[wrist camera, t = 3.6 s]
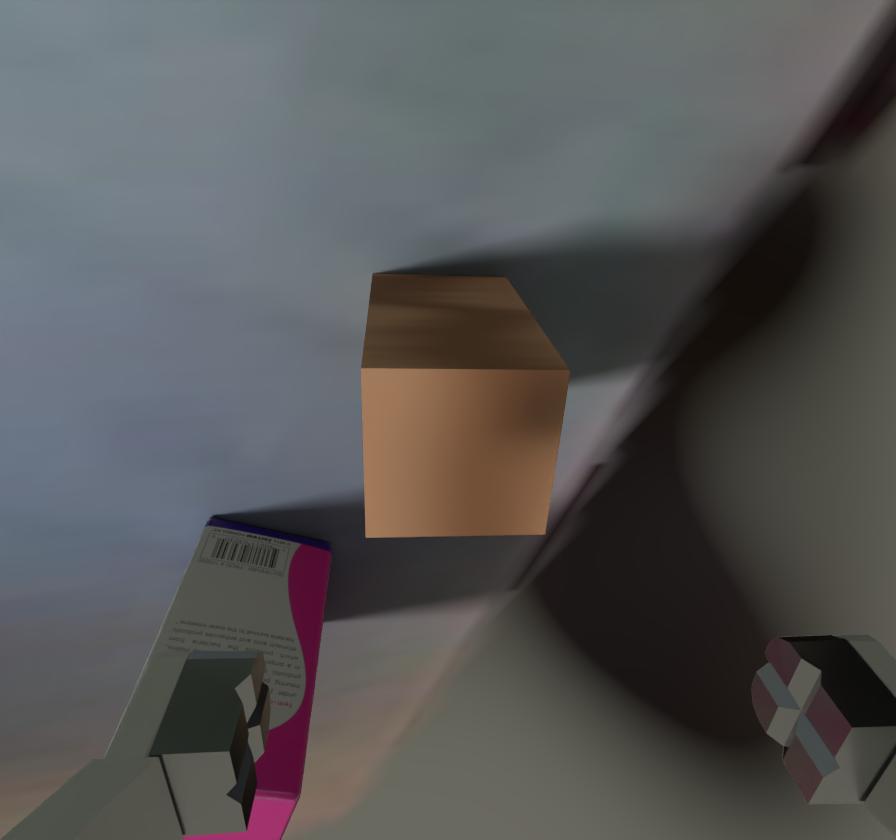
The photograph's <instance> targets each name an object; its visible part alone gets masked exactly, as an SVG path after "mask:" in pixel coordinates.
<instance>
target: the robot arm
mask: <svg viewBox="0 0 896 840" xmlns="http://www.w3.org/2000/svg"><path fill="white" fill-rule="evenodd" d="M765 655H766V657H767V658H768V660H769V663H768V664H766V665H765V666H764V667H762V668H761V669H760V670H759V671H757V672H756V675H755V678H754V681H753V684H752V686H751V687H752V700H753V705H754V708H755V711H756V714H757V717H758V719H759V721H760V722H761V724H762V726H763V728H764V730H765V731H766V733H767V734H768V735H770V736H771V737H772V738H774V739H775V740H776V741H778V742H779V743H780V744H781V745H783V746H784V748H783V762H784V764H785V766H786V767H787V769H788V771H789V772H790V774H791V776H792V778H793V779H794V781H795V782H796V784H797V786H798V788H799V789H800V791H801V793H802V794H803V796H804V798H805V800H806V801H807V803H808V804H846V803H864V804H863V805H862V807H863V808H864V809H865V810H867V811H868V812H869V813H870V814H871V815H872V816H873V817H874V818H876V819H877V820H878V821H879V822H880V823H881V824H882V825H883V826H884V827H886V828H887V829H888V830H889V831H890V832H891V833H892V834H893V835H895V836H896V660H895V659H894V657H893V656H892V655H891V654H890V653H889V652H888V651H887V650H886V649H885V648H884V646H883V645H882V644H881V643H880V642H879V641H877V640H876V639H874V638H872V637H871V636H869V635H836V636H833V635H815V636H791V637H776V638H775V639H774V640H772V641H770V642H769V644H768V647H767V649H766V651H765ZM265 668H266V665H265V660H264V655H263V652H262V651H159V652H158V653H157V654H156V655H155V656H154V657H153V658H152V659H151V661H150V662H149V664H148V666H147V668H146V670H145V672H144V675H143V677H142V679H141V681H140V683H139V685H138V687H137V690H136V692H135V694H134V696H133V698H132V700H131V702H130V705H129V707H128V709H127V711H126V713H125V715H124V717H123V719H122V722H121V724H120V726H119V728H118V730H117V732H116V734H115V737H114V739H113V741H112V743H111V745H110V747H109V749H108V752H107V754H106V756H105V758H103V759H93V760H91V761H90V762H89V763H88V764H87V765H86V766H85V767H83V768H82V769H81V770H80V771H79V772H78V773H76V774H75V775H74V776H73V777H72V778H71V779H70V780H68V781H67V782H66V783H65V784H64V785H63V786H61V787H60V788H59V789H58V790H57V791H56V792H55V793H53V794H52V795H51V796H50V797H49V798H48V799H46V800H45V801H44V802H43V803H42V804H41V805H40V806H38V807H37V808H36V809H35V810H34V811H33V812H32V813H30V814H29V815H28V816H27V817H26V818H25V819H23V820H22V821H21V822H20V823H19V824H18V825H17V826H15V827H14V828H13V829H12V830H11V831H10V832H8V833H7V834H6V835H5V836H4V837H3V838H2V839H0V840H184V838H183V837H184V836H197V835H210V834H222V833H235V832H247V828H248V824H249V819H250V815H251V810H252V806H253V801H254V797H255V793H256V788H257V784H258V782H257V776H256V770H255V764H254V763H255V762H256V761H257V760H258V759H259V758H260V757H261V755H262V754H263V753H264V752H265V747H266V742H267V737H268V731H269V722H270V712H271V711H270V692H269V686H268V685H266V684H265V683H264V682H263V681H262V680H263V676H264V672H265Z"/></svg>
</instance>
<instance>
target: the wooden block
mask: <svg viewBox="0 0 896 840" xmlns="http://www.w3.org/2000/svg"><path fill="white" fill-rule="evenodd" d="M570 371H571V370H570V369H569V367H568V366H567V364H566V363H565V361H564V360H563V358H562V357H561V356H560V354H559V353H558V351H557V350H556V348H555V347H554V345H553V344H552V343H551V341H550V340H549V338H548V337H547V335H546V334H545V332H544V331H543V330H542V328H541V327H540V325H539V324H538V322H537V321H536V319H535V318H534V317H533V315H532V314H531V312H530V311H529V309H528V308H527V306H526V305H525V304H524V302H523V301H522V299H521V298H520V296H519V295H518V293H517V292H516V291H515V289H514V288H513V286H512V285H511V283H510V282H509V280H508V279H507V277H488V276H448V275H407V274H373V275H372V284H371V292H370V300H369V308H368V316H367V325H366V333H365V341H364V349H363V357H362V365H361V381H362V419H363V457H364V495H365V533H366V538H385V537H439V536H492V535H545V532H546V525H547V519H548V512H549V506H550V499H551V493H552V487H553V480H554V474H555V467H556V461H557V454H558V448H559V441H560V435H561V429H562V422H563V416H564V409H565V403H566V396H567V390H568V384H569V377H570Z"/></svg>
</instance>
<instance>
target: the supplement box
mask: <svg viewBox="0 0 896 840" xmlns="http://www.w3.org/2000/svg"><path fill="white" fill-rule="evenodd" d="M331 558H332V544H330V543H327V542H323V541H319V540H314V539H309V538H304V537H300V536H295V535H291V534H287V533H281V532H277V531H272V530H267V529H263V528H258V527H253V526H248V525H244V524H239V523H235V522H230V521H226V520H221V519H217V518H212V517H210V518H209V520H208V522H207V523H206V525H205V528H204V530H203V532H202V534H201V536H200V538H199V541H198V543H197V545H196V548H195V550H194V552H193V554H192V557H191V559H190V561H189V563H188V566H187V568H186V570H185V572H184V575H183V577H182V579H181V582H180V584H179V586H178V589H177V591H176V593H175V596H174V598H173V600H172V603H171V605H170V607H169V609H168V612H167V614H166V616H165V619H164V621H163V623H162V626H161V628H160V630H159V633H158V635H157V637H156V640H155V642H154V644H153V647H152V649H151V651H150V653H149V656H148V658H147V660H146V663H145V665H144V667H143V669H142V672H141V674H140V676H139V679H138V681H137V683H136V686H135V688H134V690H133V693H132V695H131V697H130V700H129V702H128V704H127V706H126V709H125V711H124V713H123V715H122V718H121V720H120V722H119V725H118V727H117V729H116V732H117V730H118V728H119V726H120V724H121V722H122V719H123V717H124V715H125V713H126V711H127V709H128V707H129V705H130V702H131V700H132V698H133V696H134V694H135V692H136V690H137V687H138V685H139V683H140V681H141V679H142V677H143V675H144V672H145V670H146V668H147V666H148V664H149V662H150V661H151V659H152V658H153V657H154V656H155V655H156V654H157V653H158V652H159V651H262V652H263V655H264V660H265V665H266V668H265V672H264V676H263V680H262V681H263V682H264V683H265V684H266V685H268V686H269V692H270V711H271V712H270V722H269V731H268V737H267V742H266V747H265V752H264V753H263V754H262V755H261V757H260V758H259V759H258V760H257V761H256V762H255V763H254V764H255V770H256V776H257V782H258V784H257V788H256V793H255V797H254V801H253V806H252V810H251V815H250V819H249V824H248V828H247V832H235V833H222V834H210V835H197V836H184V837H183V838H184V840H281V838H282V836H283V834H284V832H285V829H286V827H287V825H288V823H289V820H290V818H291V816H292V813H293V811H294V809H295V807H296V804H297V802H298V800H299V798H300V794H301V788H302V780H303V773H304V765H305V757H306V749H307V740H308V732H309V724H310V717H311V710H312V703H313V696H314V689H315V680H316V672H317V665H318V657H319V648H320V641H321V633H322V626H323V619H324V611H325V603H326V595H327V588H328V581H329V573H330V565H331ZM116 732H115V734H116ZM115 734H114V736H113V738H112V741H113V739H114V737H115ZM112 741H111V743H112ZM111 743H110V745H111ZM110 745H109V747H110ZM109 747H108V749H109ZM107 752H108V750H107ZM107 752H106V754H107ZM106 754H105V756H106ZM105 756H104V758H105Z"/></svg>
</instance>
